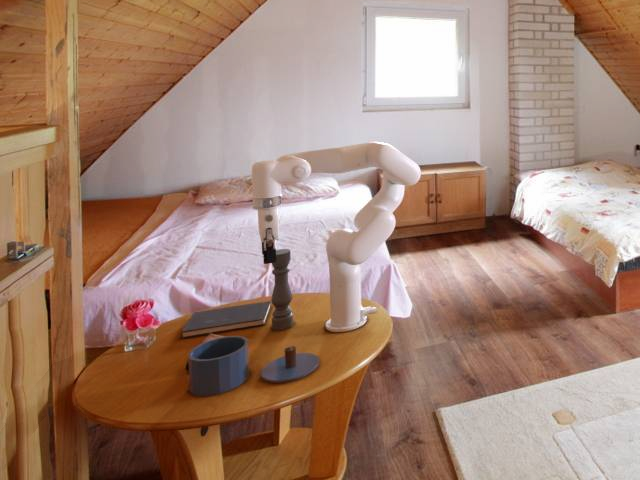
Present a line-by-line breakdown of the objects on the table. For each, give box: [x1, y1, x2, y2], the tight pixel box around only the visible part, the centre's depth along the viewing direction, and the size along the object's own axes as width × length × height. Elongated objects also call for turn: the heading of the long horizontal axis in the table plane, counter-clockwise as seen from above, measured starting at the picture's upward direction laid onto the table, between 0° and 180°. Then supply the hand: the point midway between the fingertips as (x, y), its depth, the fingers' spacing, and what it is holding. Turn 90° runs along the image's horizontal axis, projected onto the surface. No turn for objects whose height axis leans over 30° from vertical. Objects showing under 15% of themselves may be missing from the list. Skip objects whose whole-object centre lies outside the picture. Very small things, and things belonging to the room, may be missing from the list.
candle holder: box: [270, 248, 294, 332], centre depth 190 cm, size 6×6×25 cm
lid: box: [260, 345, 320, 383], centre depth 163 cm, size 15×15×6 cm
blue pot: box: [187, 335, 250, 397], centre depth 158 cm, size 14×14×10 cm
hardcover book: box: [180, 300, 272, 339], centre depth 194 cm, size 16×23×2 cm
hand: (269, 258), depth 174 cm, fingers open, 9 cm apart
